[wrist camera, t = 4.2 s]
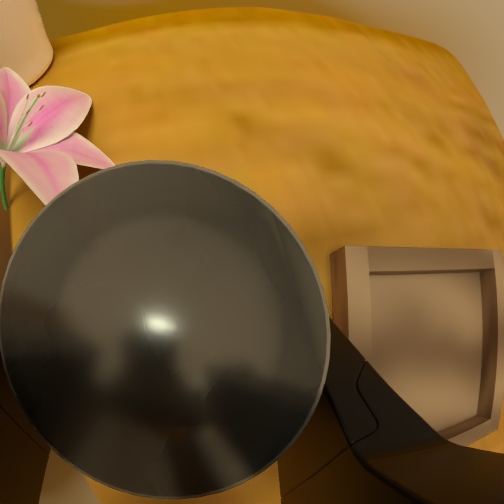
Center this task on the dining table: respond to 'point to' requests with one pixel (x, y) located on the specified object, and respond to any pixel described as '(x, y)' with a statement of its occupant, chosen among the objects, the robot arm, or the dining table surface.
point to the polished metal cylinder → (164, 329)
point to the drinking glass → (23, 40)
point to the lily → (44, 136)
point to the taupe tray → (428, 329)
